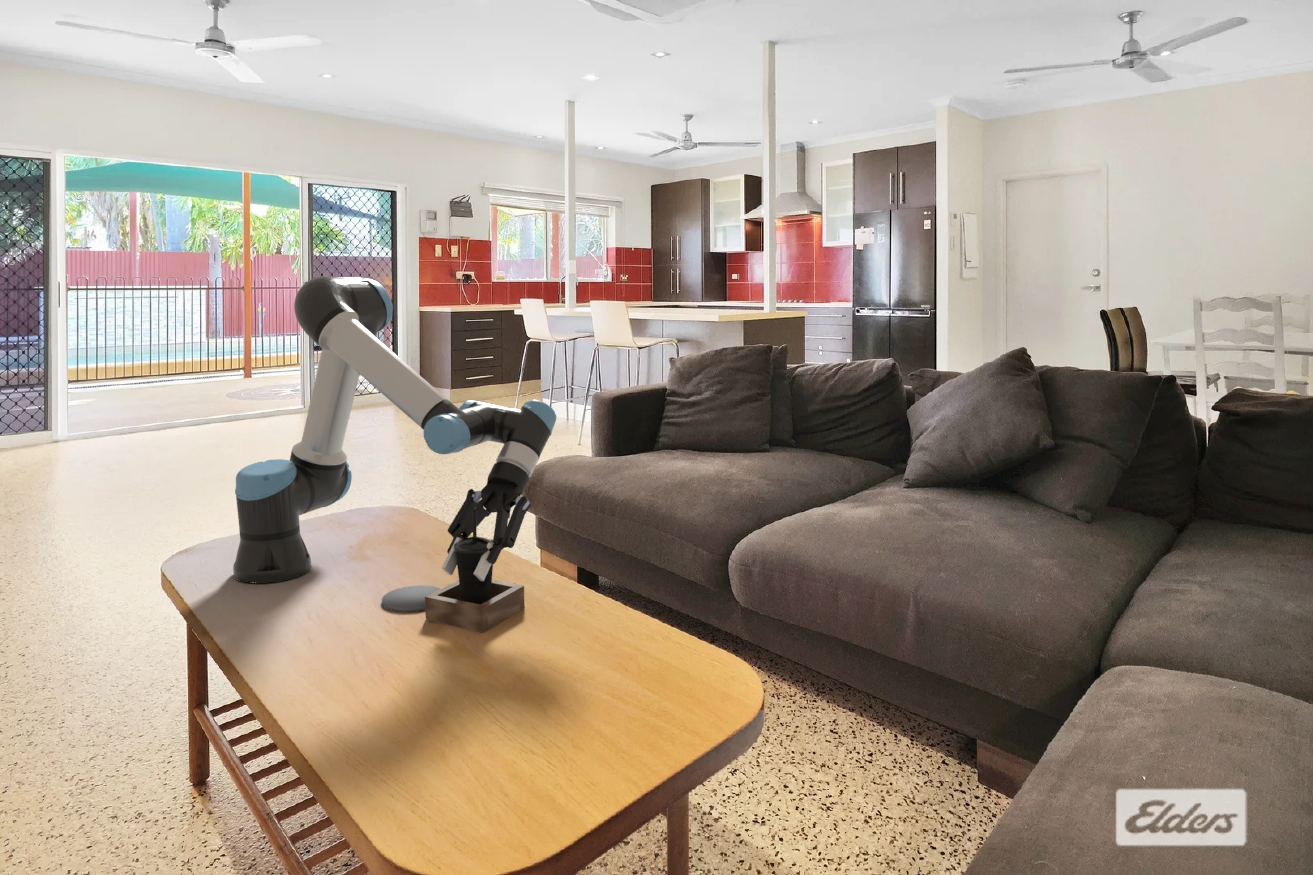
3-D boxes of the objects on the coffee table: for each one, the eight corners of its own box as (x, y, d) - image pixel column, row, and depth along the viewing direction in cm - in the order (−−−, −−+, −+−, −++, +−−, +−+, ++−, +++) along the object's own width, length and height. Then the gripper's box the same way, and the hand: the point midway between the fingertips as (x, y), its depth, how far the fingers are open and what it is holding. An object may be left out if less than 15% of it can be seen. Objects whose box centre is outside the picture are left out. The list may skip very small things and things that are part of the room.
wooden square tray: (425, 619, 153) (424, 596, 152) (470, 596, 165) (469, 575, 164) (482, 632, 148) (482, 608, 147) (524, 607, 159) (524, 585, 158)
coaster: (368, 605, 160) (368, 601, 160) (411, 585, 170) (411, 581, 170) (417, 616, 155) (416, 612, 155) (458, 595, 165) (458, 591, 165)
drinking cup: (501, 606, 160) (500, 506, 156) (489, 623, 152) (488, 518, 148) (463, 604, 160) (461, 504, 156) (449, 620, 153) (446, 516, 149)
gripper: (562, 486, 162) (515, 592, 150) (481, 475, 170) (430, 575, 158) (546, 464, 156) (497, 573, 144) (463, 454, 164) (410, 556, 153)
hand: (462, 574), depth 151 cm, fingers closed on drinking cup, 6 cm apart
